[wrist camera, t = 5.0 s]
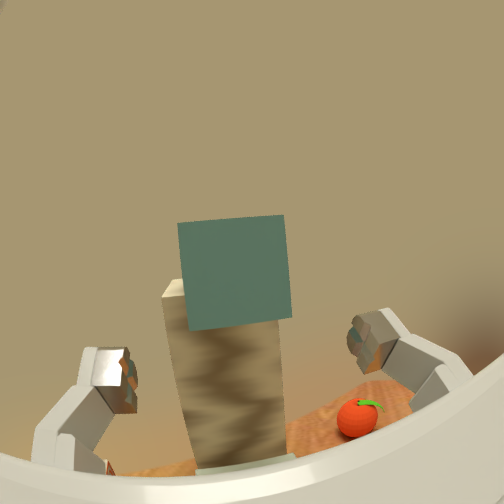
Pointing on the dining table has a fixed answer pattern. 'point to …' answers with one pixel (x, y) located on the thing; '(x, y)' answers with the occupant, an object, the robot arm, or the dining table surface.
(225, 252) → the beam
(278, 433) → the tower
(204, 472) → the pale grey block
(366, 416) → the clementine
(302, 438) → the dining table surface
